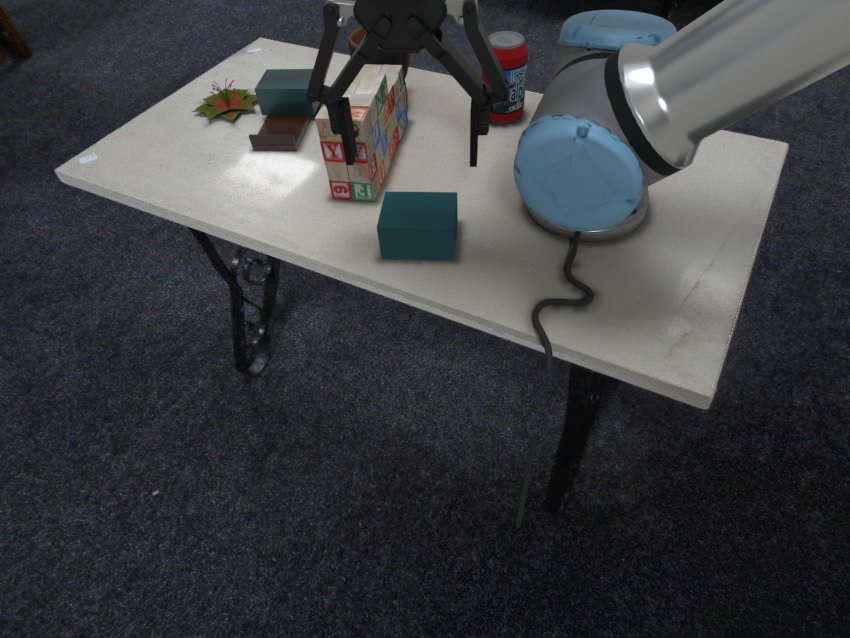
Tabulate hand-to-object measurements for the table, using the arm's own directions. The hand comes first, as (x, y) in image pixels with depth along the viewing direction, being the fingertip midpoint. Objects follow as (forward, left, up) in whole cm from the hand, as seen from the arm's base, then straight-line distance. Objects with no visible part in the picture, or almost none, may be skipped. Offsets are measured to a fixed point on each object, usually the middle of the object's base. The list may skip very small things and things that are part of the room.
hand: (412, 159), depth 62 cm
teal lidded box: (+29, +25, -12) cm, 40 cm away
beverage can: (+31, -10, -12) cm, 35 cm away
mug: (+35, +9, -12) cm, 38 cm away
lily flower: (+34, +37, -12) cm, 51 cm away
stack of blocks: (+19, +9, -12) cm, 24 cm away
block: (0, 0, -12) cm, 12 cm away
